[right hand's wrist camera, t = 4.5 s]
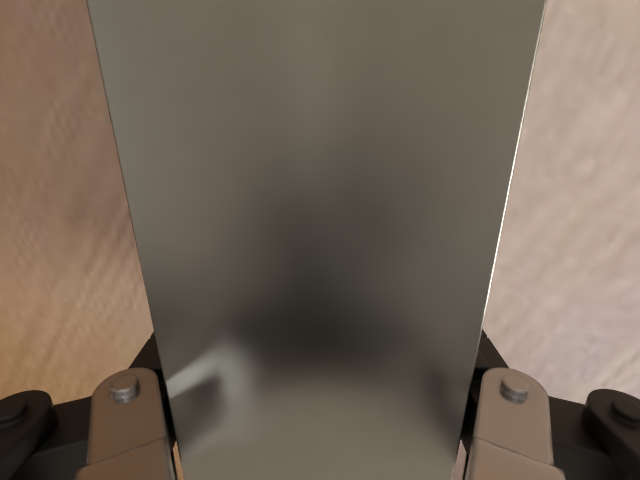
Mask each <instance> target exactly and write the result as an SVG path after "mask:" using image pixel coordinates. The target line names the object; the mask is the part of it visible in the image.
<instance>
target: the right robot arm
mask: <svg viewBox="0 0 640 480" xmlns="http://www.w3.org/2000/svg"><path fill="white" fill-rule="evenodd" d="M461 440H462V443H463V445H464V448H465V450H466V457H465V462H464V468H463V475H462V480H640V400H639V399H637V398H635V397H633V396H631V395H628V394H626V393H623V392H620V391H616V390H610V389H598V390H594V391H592V392H591V393H590V394H589V395H588V398H587V400H586V403H585V405H584V404H580V403H575V402H571V401H567V400H562V399H558V398H554V397H550V396H548V394H547V392H546V391H545V389H544V388H543V387H542V385H541V384H540V383H538V382H537V381H536V380H535V379H533V378H532V377H530V376H529V375H527V374H525V373H522V372H520V371H517V370H514V369H510V368H509V367H508V366H507V364H506V363H505V361H504V360H503V358H502V357H501V355H500V354H499V353H498V351H497V350H496V348H495V347H494V345H493V344H492V342H491V341H490V339H489V338H487V335H486V334H485V332H484V331H483V329H482V332H481V337H480V342H479V347H478V353H477V358H476V363H475V368H474V373H473V378H472V383H471V388H470V393H469V398H468V403H467V408H466V413H465V418H464V423H463V428H462V434H461ZM175 442H176V436H175V431H174V426H173V421H172V416H171V411H170V406H169V401H168V397H167V392H166V387H165V382H164V377H163V372H162V367H161V362H160V357H159V353H158V348H157V343H156V338H155V333H154V332H153V334H152V335H151V338H150V339H148V341H147V342H146V344H145V345H144V347H143V348H142V349H141V351H140V352H139V354H138V355H137V357H136V358H135V360H134V361H133V362H132V364H131V365H130V367H129V368H128V369H126V370H123V371H120V372H118V373H115V374H113V375H111V376H110V377H108V378H107V379H105V380H104V381H103V382H102V383H100V384H99V385H98V387H97V388H96V389H95V391H94V392H93V394H92V396H90V397H86V398H83V399H79V400H74V401H70V402H66V403H61V404H57V405H53V403H52V400H51V397H50V395H49V394H48V393H46V392H44V391H39V390H31V391H24V392H20V393H17V394H13V395H11V396H8V397H6V398H4V399H2V400H0V480H178V475H177V468H176V462H175V457H174V452H173V447H174V444H175Z"/></svg>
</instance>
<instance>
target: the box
mask: <svg viewBox="0 0 640 480" xmlns="http://www.w3.org/2000/svg"><path fill="white" fill-rule="evenodd" d="M86 1H87V6H88V11H89V16H90V21H91V26H92V31H93V35H94V40H95V45H96V50H97V55H98V60H99V65H100V70H101V75H102V79H103V84H104V89H105V94H106V99H107V104H108V109H109V114H110V118H111V123H112V128H113V133H114V138H115V143H116V148H117V153H118V157H119V162H120V167H121V172H122V177H123V182H124V187H125V192H126V196H127V201H128V206H129V211H130V216H131V221H132V226H133V231H134V236H135V240H136V245H137V250H138V255H139V260H140V265H141V270H142V275H143V279H144V284H145V289H146V294H147V299H148V304H149V309H150V314H151V318H152V323H153V328H154V333H155V338H156V343H157V348H158V353H159V357H160V362H161V367H162V372H163V377H164V382H165V387H166V392H167V397H168V401H169V406H170V411H171V416H172V421H173V426H174V431H175V436H176V440H177V445H178V450H179V455H180V460H181V465H182V470H183V475H184V479H185V480H452V479H453V474H454V469H455V464H456V459H457V454H458V449H459V444H460V439H461V434H462V428H463V423H464V418H465V413H466V408H467V403H468V398H469V393H470V388H471V383H472V378H473V373H474V368H475V363H476V358H477V353H478V347H479V342H480V337H481V332H482V327H483V322H484V317H485V312H486V307H487V302H488V297H489V292H490V287H491V282H492V277H493V272H494V266H495V261H496V256H497V251H498V246H499V241H500V236H501V231H502V226H503V221H504V216H505V211H506V206H507V201H508V196H509V190H510V185H511V180H512V175H513V170H514V165H515V160H516V155H517V150H518V145H519V140H520V135H521V130H522V125H523V120H524V115H525V109H526V104H527V99H528V94H529V89H530V84H531V79H532V74H533V69H534V64H535V59H536V54H537V49H538V44H539V39H540V34H541V28H542V23H543V18H544V13H545V8H546V3H547V0H86Z"/></svg>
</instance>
